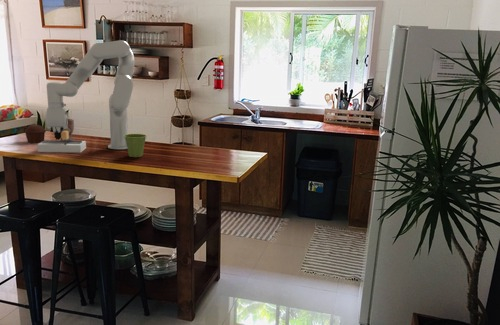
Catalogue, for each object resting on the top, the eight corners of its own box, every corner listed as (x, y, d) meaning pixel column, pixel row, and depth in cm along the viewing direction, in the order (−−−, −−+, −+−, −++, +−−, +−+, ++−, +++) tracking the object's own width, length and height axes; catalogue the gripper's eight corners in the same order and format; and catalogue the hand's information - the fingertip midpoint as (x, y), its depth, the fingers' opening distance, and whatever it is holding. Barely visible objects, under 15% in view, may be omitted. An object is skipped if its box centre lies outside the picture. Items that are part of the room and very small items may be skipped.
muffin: (20, 142, 246) (19, 125, 244) (33, 139, 257) (32, 123, 254) (38, 144, 244) (37, 127, 242) (51, 141, 255) (49, 124, 252)
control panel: (86, 147, 241) (85, 139, 240) (80, 152, 229) (80, 143, 228) (45, 147, 238) (44, 138, 237) (37, 151, 226) (37, 143, 225)
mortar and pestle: (52, 141, 255) (49, 108, 250) (62, 138, 263) (60, 106, 258) (67, 143, 252) (65, 109, 247) (77, 140, 260) (75, 108, 255)
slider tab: (69, 141, 235) (68, 130, 233) (66, 143, 231) (66, 132, 229) (64, 141, 235) (63, 130, 233) (62, 143, 230) (61, 132, 229)
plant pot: (151, 155, 229) (151, 135, 226) (135, 159, 219) (135, 138, 216) (135, 152, 235) (135, 132, 232) (119, 156, 225) (118, 135, 222)
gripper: (72, 105, 232) (74, 138, 236) (43, 104, 230) (46, 137, 234) (68, 106, 225) (70, 140, 229) (38, 106, 223) (41, 140, 227)
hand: (58, 139), depth 232 cm, fingers closed
